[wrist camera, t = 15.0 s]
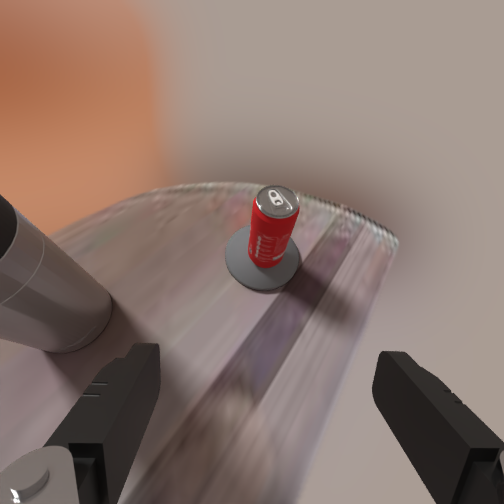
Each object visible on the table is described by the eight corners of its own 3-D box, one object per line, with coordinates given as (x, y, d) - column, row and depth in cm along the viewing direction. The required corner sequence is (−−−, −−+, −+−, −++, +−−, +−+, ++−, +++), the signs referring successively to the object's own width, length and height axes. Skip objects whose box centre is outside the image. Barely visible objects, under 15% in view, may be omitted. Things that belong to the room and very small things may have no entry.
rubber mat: (211, 248, 39) (210, 245, 38) (267, 216, 43) (267, 213, 42) (255, 305, 35) (255, 303, 34) (312, 264, 39) (314, 261, 38)
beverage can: (255, 275, 36) (265, 225, 26) (242, 246, 38) (246, 189, 28) (288, 264, 37) (309, 212, 27) (273, 236, 40) (288, 178, 29)
